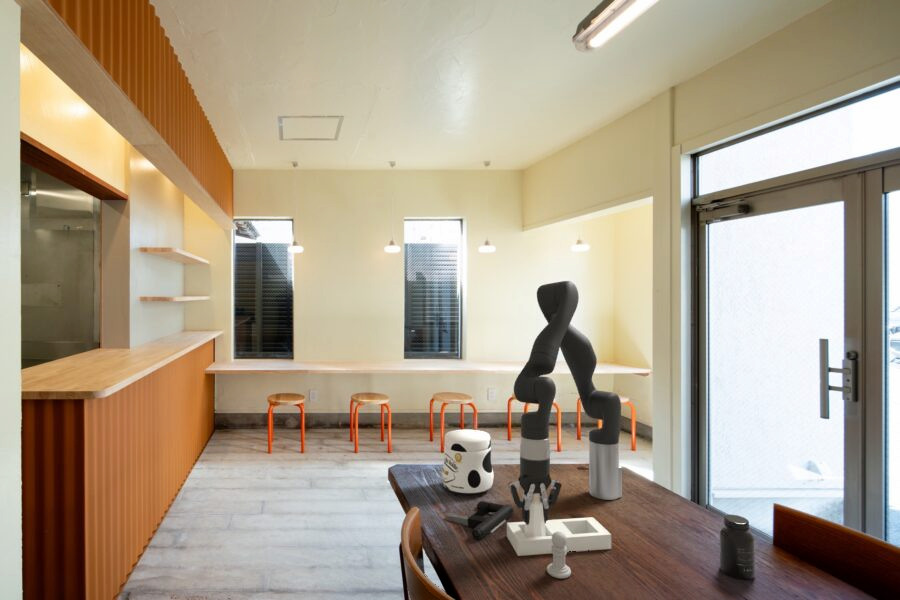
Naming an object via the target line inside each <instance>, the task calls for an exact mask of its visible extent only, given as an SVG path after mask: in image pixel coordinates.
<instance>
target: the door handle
mask: <svg viewBox="0 0 900 600" xmlns="http://www.w3.org/2000/svg"><path fill="white" fill-rule="evenodd" d="M476 509H477V510H478V511H476V512H475V513H473V514H472V515H470V516H467V515H466V516H465V515H460V514H457V513H456V514H455V513H451V512H447V513H446V514H445V520H447V521H449V522H454V523H457V524H460V525H463V526H467V527H468V528H469V529H472V531H471V537H472V538H473V540H477V541H478V540H481V539H483V538H484V537H485V536H487V535H488V534H489V533H490V534H492V533H494V531H496V530H497V529H498V528H500V527H501V526H502V525H504V524H505V523H507V519H508V518H509V517H511V516H513V513H514V507H513V506H512V504H505V505H504V504H499V503H493V502H488V501H483V500H481V501H478V503H477V504H476ZM486 515H488V516H489V517H488V516H487V517H485V516H486Z"/></svg>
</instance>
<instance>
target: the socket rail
mask: <svg viewBox="0 0 900 600" xmlns="http://www.w3.org/2000/svg"><path fill="white" fill-rule="evenodd" d="M545 531H546V536H540V537H526V535H525V522H524V521H514V522H513V521H512V522H506V538H507V539H508V541H509V543H510V545H511V546H512V547H513V549H514V551H515V553H516V555H517V556H518V557H519V556H520V557H521V556H535V555H546V554H552V545H553V543H552V535H553V534H554V533H555V532H562V533H563V534H564V535H565V536H566V539H567V542H566V545H565V546H566V548H567V550H566V552H567V553H573V552H572V551H576V552H589V551H601V550H611V549H612V533H610V532H609V531H608V530H607V529H606V528H605V527H604V526H603V525H602V524H601V523H600V522H599V521H598V520H597V519H595V518H594V517H591V516H590V517H576V518H575V517H574V518H561V519H560V518H559V519H558V518H557V519H548V521H546V523H545ZM588 550H589V551H588ZM569 551H571V552H569Z"/></svg>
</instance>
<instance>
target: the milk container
mask: <svg viewBox="0 0 900 600" xmlns="http://www.w3.org/2000/svg"><path fill="white" fill-rule="evenodd" d="M491 454H492V438H491V435H490V434H489V432H486V431H483V430H478V429H476V430H475V429H467V428H466V429H465V428H464V429H454V430H450V431H447V432H446V433H445V435H444V462H443V465H442V470H441V480H442V481H441V482H442V486H443V487H444V488H445V489H446V490H447V491H448V492H451V493H454V494H457V495H465V496H466V495H467V496H471V495H472V496H473V495H480V494H483V493H486V492H487V491H489V490H490V489H491V488H492V487H493V483H494V475H495V474H494V470H493V466H492V460H491V459H492V455H491Z"/></svg>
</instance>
